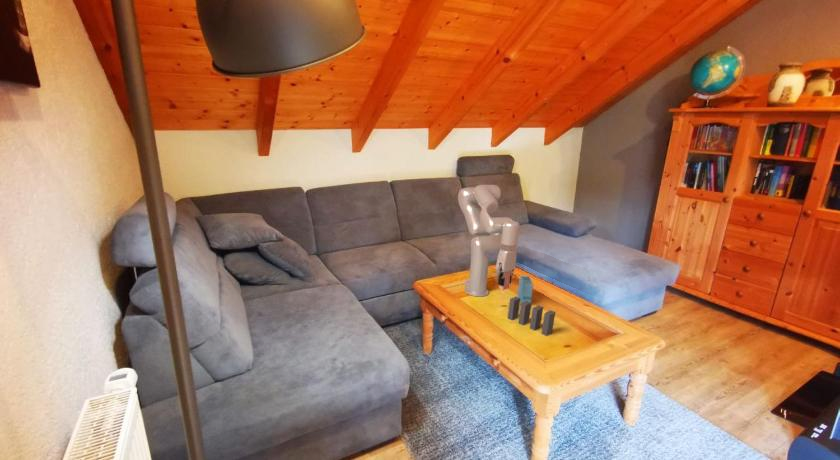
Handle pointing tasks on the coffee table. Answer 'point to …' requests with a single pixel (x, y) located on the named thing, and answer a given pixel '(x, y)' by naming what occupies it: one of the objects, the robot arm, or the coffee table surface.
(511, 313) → the domino
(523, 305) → the domino
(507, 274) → the domino
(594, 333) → the coffee table surface
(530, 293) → the data package
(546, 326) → the domino
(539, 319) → the domino
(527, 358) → the coffee table surface
